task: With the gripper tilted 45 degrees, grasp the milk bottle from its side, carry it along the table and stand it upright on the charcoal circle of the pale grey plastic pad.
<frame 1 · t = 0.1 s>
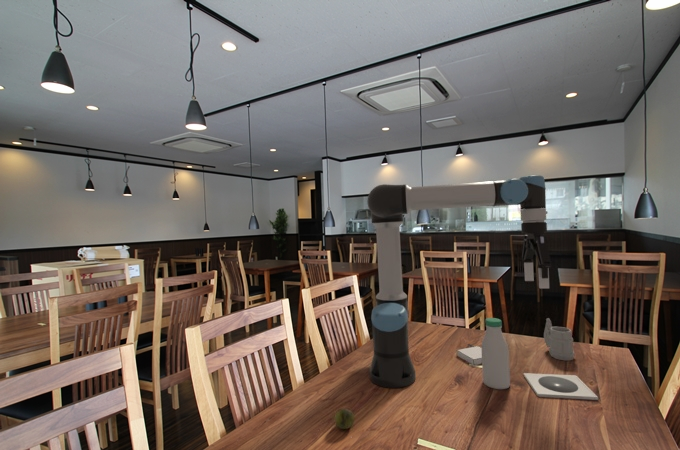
hand: (536, 284, 114), 28 cm above the table, tool pointing down, fingers open, 13 cm apart
mug: (557, 354, 123), on the table
white block with labels: (478, 358, 124), on the table
milk bottle: (496, 384, 104), on the table
lime: (345, 429, 87), on the table
pad: (557, 386, 101), on the table
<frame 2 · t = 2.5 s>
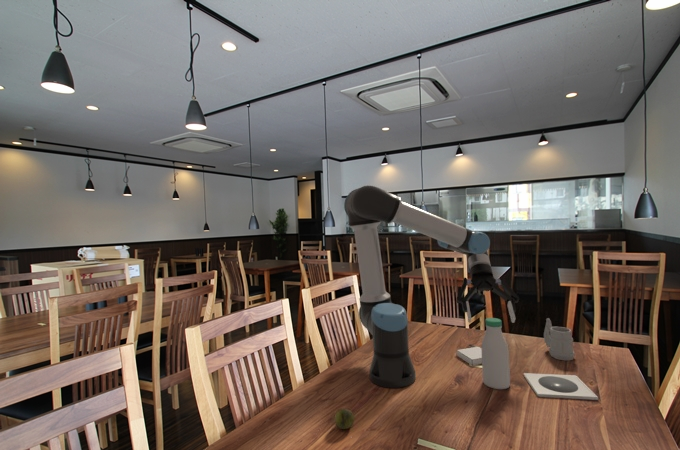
hand: (491, 320, 112), 17 cm above the table, tool tilted 45°, fingers open, 13 cm apart
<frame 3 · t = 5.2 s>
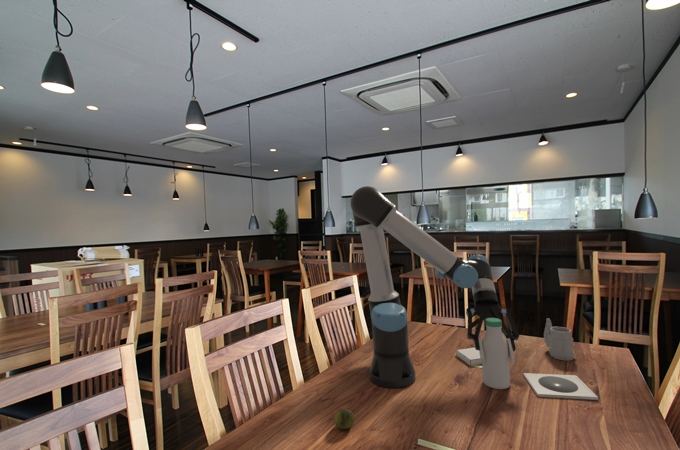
hand: (497, 360, 101), 9 cm above the table, tool tilted 45°, fingers closed on milk bottle, 8 cm apart
milk bottle: (496, 384, 104), on the table, touching gripper
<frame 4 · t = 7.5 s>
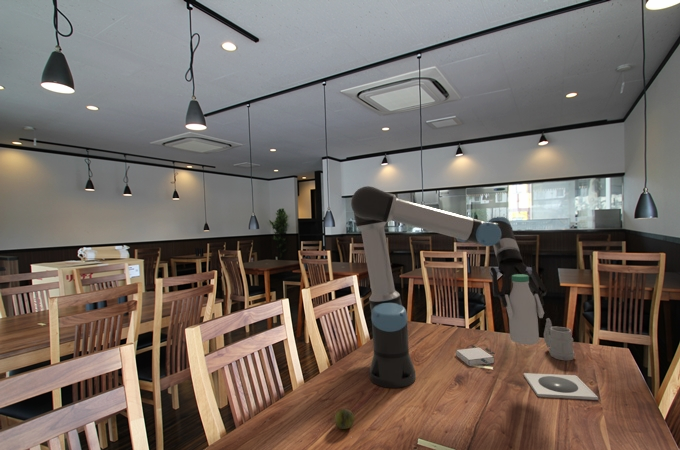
hand: (526, 315, 99), 22 cm above the table, tool tilted 45°, fingers closed on milk bottle, 8 cm apart
milk bottle: (524, 341, 103), point 13 cm above the table, touching gripper
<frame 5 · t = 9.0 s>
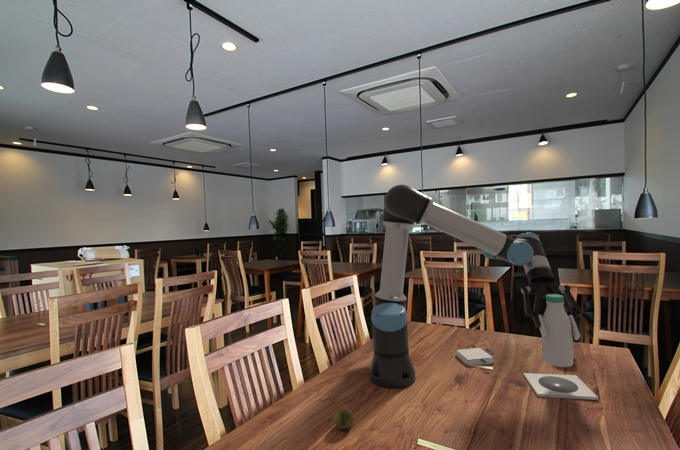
hand: (561, 337, 97), 16 cm above the table, tool tilted 45°, fingers closed on milk bottle, 8 cm apart
milk bottle: (558, 362, 101), point 7 cm above the table, touching gripper
when the fingers open (11 cm above the table, at t = 10.2 s): milk bottle drops 2 cm, resting on pad.
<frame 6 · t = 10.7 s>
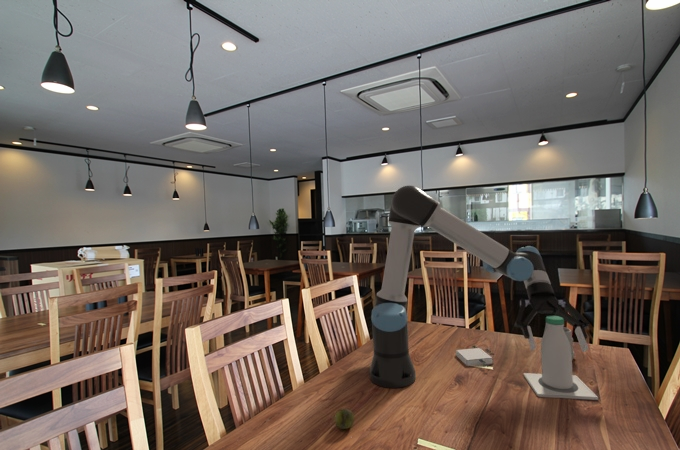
hand: (559, 349, 98), 12 cm above the table, tool tilted 45°, fingers open, 13 cm apart
milk bottle: (557, 384, 101), point 1 cm above the table, touching pad
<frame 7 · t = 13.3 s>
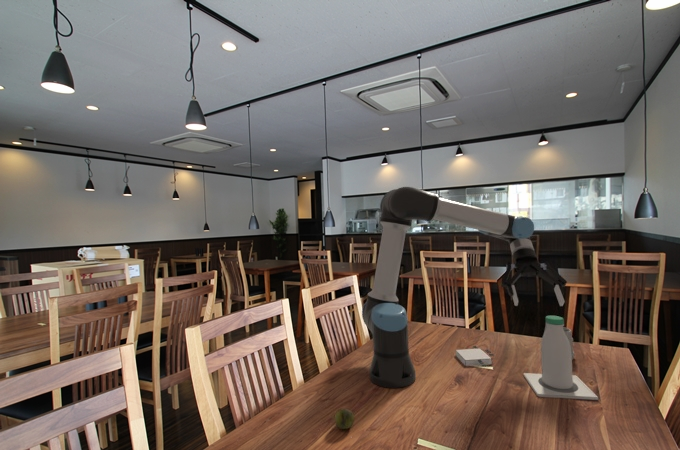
hand: (539, 303, 111), 22 cm above the table, tool tilted 45°, fingers open, 13 cm apart
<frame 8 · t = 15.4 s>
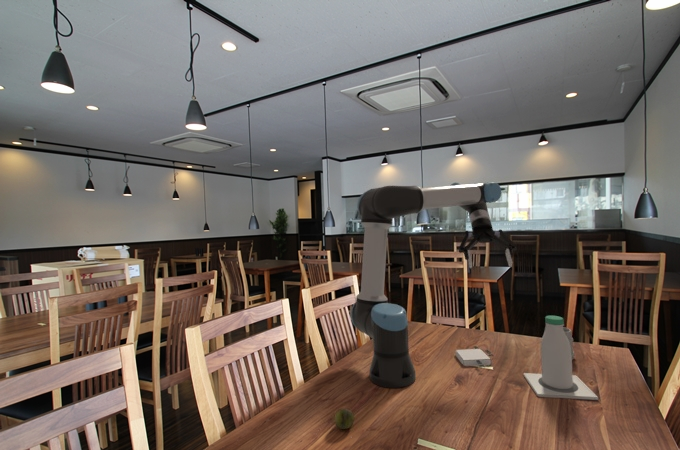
hand: (490, 265, 123), 34 cm above the table, tool tilted 45°, fingers open, 13 cm apart
at the end: milk bottle inside the target area on the pad (0.1 cm from its centre), point 0.7 cm above the pad's base; milk bottle tilted 0°; the gripper is holding nothing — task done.
